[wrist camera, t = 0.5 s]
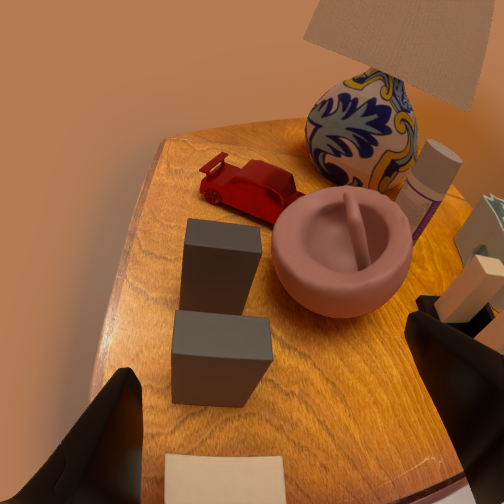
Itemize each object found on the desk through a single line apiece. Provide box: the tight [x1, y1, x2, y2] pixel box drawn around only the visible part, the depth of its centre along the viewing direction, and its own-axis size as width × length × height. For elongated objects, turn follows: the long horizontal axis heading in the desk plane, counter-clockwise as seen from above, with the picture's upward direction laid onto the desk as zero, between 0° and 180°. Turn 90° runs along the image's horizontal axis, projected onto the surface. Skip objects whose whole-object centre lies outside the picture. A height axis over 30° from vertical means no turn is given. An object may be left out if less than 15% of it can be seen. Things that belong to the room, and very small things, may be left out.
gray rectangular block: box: [171, 310, 273, 407], centre depth 18 cm, size 3×5×8 cm, turn 93°
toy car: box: [199, 152, 305, 225], centre depth 36 cm, size 14×6×5 cm, turn 68°
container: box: [394, 139, 462, 246], centre depth 32 cm, size 5×5×15 cm
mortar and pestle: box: [271, 185, 413, 318], centre depth 26 cm, size 12×12×11 cm
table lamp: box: [304, 0, 495, 193], centre depth 38 cm, size 27×27×40 cm
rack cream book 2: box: [473, 309, 504, 355], centre depth 23 cm, size 3×5×8 cm, turn 93°
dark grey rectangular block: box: [179, 218, 262, 316], centre depth 24 cm, size 3×5×8 cm, turn 93°
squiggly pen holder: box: [454, 194, 504, 312], centre depth 37 cm, size 18×10×9 cm, turn 167°
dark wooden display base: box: [416, 295, 495, 338], centre depth 25 cm, size 18×8×4 cm, turn 3°
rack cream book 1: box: [434, 255, 504, 323], centre depth 28 cm, size 3×5×8 cm, turn 93°
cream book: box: [164, 453, 286, 504], centre depth 13 cm, size 3×5×8 cm, turn 93°
